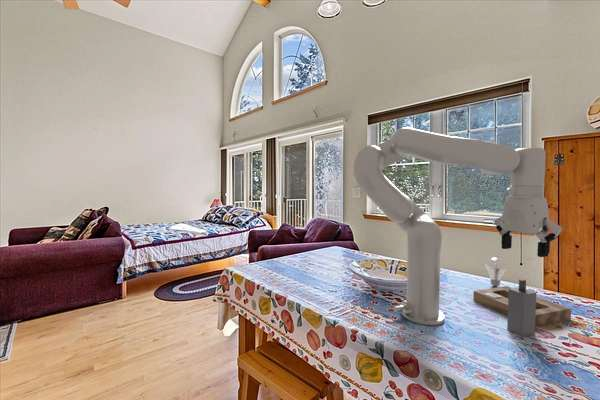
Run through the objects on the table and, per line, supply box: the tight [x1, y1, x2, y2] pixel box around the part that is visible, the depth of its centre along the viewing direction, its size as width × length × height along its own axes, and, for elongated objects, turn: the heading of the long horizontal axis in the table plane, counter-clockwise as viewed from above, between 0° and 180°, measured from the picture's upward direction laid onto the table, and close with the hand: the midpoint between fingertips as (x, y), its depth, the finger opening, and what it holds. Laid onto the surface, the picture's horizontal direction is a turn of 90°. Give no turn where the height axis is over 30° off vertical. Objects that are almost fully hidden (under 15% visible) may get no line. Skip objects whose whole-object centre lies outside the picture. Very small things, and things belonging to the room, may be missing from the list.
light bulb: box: [485, 257, 507, 288], centre depth 114 cm, size 7×7×12 cm
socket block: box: [473, 285, 572, 328], centre depth 93 cm, size 16×20×4 cm
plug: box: [506, 279, 537, 338], centre depth 79 cm, size 4×4×15 cm
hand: (523, 252), depth 79 cm, fingers open, 9 cm apart
